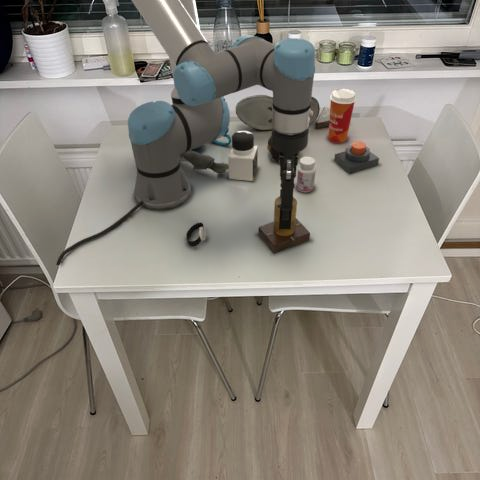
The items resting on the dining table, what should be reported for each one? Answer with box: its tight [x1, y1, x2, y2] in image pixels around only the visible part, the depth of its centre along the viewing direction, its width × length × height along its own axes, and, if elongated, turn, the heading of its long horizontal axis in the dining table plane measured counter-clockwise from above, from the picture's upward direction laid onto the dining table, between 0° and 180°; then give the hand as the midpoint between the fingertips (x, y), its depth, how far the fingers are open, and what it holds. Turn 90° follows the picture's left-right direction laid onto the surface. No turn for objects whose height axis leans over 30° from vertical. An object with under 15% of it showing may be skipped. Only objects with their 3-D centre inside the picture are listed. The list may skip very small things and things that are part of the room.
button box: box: [333, 144, 380, 175], centre depth 138 cm, size 10×8×4 cm
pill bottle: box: [296, 156, 317, 193], centre depth 128 cm, size 5×5×8 cm
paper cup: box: [328, 88, 357, 144], centre depth 143 cm, size 8×8×14 cm
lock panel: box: [258, 217, 311, 254], centre depth 116 cm, size 10×9×3 cm
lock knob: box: [273, 195, 298, 236], centre depth 112 cm, size 5×5×8 cm
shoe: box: [235, 94, 321, 131], centre depth 154 cm, size 10×27×12 cm
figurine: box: [266, 133, 309, 161], centre depth 141 cm, size 10×7×15 cm
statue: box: [180, 150, 229, 175], centre depth 138 cm, size 7×8×30 cm
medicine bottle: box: [227, 130, 259, 182], centre depth 132 cm, size 7×7×12 cm
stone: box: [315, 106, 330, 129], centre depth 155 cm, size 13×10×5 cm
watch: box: [185, 222, 207, 247], centre depth 116 cm, size 8×5×4 cm, turn 170°
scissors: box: [212, 127, 232, 146], centre depth 148 cm, size 7×1×20 cm
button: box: [351, 141, 367, 155], centre depth 136 cm, size 4×4×2 cm
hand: (284, 220), depth 113 cm, fingers closed on lock knob, 5 cm apart
